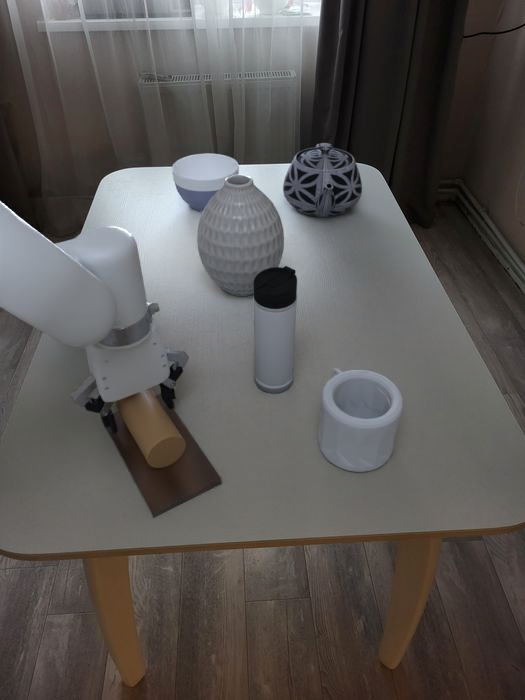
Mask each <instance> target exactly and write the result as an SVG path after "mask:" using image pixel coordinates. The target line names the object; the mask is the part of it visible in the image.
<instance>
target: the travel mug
mask: <svg viewBox="0 0 525 700" xmlns="http://www.w3.org/2000/svg"><path fill="white" fill-rule="evenodd" d="M253 286H254V294H252V296H253V297H252V300H253V303H252V305H253V306H252V308H253V311H252V312H253V352H254V353H253V360H254V361H253V363H254V364H253V367H254V383H255V385H256V386H257V388H258V389H260V391H263V392H265V393H268V394H269V393H270V394H280V393H283V392H285V391H287V390H288V389H290V388H291V387H292V385H293V382H294V370H295V369H294V367H295V364H294V363H295V349H296V348H295V345H296V326H297V325H296V324H297V323H296V322H297V306H298V305H297V301H298V295H297V294H298V293H297V292H298V277H297V275H296V269H294V268H292V267H290V266H288V265H284V266H283V267H280V266H278V267H273V268H268V269H265V270H263V271H261V272H260V273H259V274H257V275H256V277H255V279H254V282H253Z"/></svg>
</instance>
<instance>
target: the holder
mask: <svg viewBox="0 0 525 700" xmlns="http://www.w3.org/2000/svg"><path fill="white" fill-rule="evenodd" d="M155 396H156V398H157V399H158V401H159V403H160V404H161V406H162V407H163V409H164V410H165V412H166V413H167V415H168V416H169V418H170V419H171V421H172V422H173V424H174V425H175V427H176V428H177V430H178V431H179V433H180V434H181V436H182V437H183V439H184V441H185V443H186V448H185V451H184V453H183V454H182V456H181V457H180V458H179V459H178V460H177V461H176V462H174V463H173V464H171V465H169V466H166V467H163V468H154V467H151V466H150V465H149V464H148V462H147V460H146V459H145V457H144V455H143V453H142V452H141V450H140V448H139V446H138V445H137V443H136V441H135V439H134V438H133V436H132V434H131V432H130V431H129V429H128V427H127V425H126V424H125V422H124V420H123V418H122V417H121V415H120V413H119V411H118V410H117V411H115V412H114V411H113V415H114V418H115V422H116V426H117V429H118V431H117V433H115V434H113V432H112V430H111V429H110V427H107V428H105V430H106V432H107V433H108V435H109V438H110V439H111V442H112V443H113V445H114V447H115V449H116V451H117V453H118V454H119V457H120V458H121V460H122V462H123V464H124V465H125V467H126V469H127V471H128V473H129V475H130V477H131V479H132V481H133V482H134V484H135V486H136V489H137V490H138V492H139V494H140V495H141V498H142V499H143V502H144V503H145V505H146V507H147V509H148V511H149V513H150V514H151V516H152V518H153V519H155V518H156V517H158V516H160V515H162V514H164V513H166V512H168V511H170V510H173V509H174V508H176V507H178V506H180V505H182V504H184V503H186V502H188V501H190V500H193V499H194V498H197V497H198V496H200V495H202V494H204V493H206V492H208V491H211V490H212V489H214V488H216V487H218V486H221V485H222V478H221V477H220V475H219V474H218V472H217V471H216V469H215V468H214V466H213V464H212V463H211V462H210V460H209V459H208V458H207V456H206V454H205V453H204V452H203V450H202V449H201V447H200V445H199V444H198V443H197V441H196V440H195V438H194V437H193V435H192V434H191V432H190V431H189V430H188V428H187V427H186V425H185V423H184V422H183V421H182V419H181V418H180V416H179V415H178V413H177V412H176V410H175V408H173V409H169V408H168V406H167V405H166V403H165V402H164V400H163V399H162V396H161V393H159V394H156V395H155Z"/></svg>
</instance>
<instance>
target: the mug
mask: <svg viewBox="0 0 525 700" xmlns="http://www.w3.org/2000/svg"><path fill="white" fill-rule="evenodd" d="M403 408H404V399H403V395H402V393H401V391H400V389H399V388H398V387H397V385H396V384H395V382H393V381H392V380H390V379H389V378H388V377H386V376H384V375H382V374H380V373H378V372H375V371H371V370H366V369H350V370H347V371H346V370H345V371H342V370H341V369H340V368H338V367H334V368H333V370H332V377H331V378H330V379H329V380H328V381H327V382H326V383H325V385H324V387H323V389H322V392H321V402H320V411H319V412H320V413H319V422H318V437H317V441H318V446H319V450H320V451H321V453H322V455H323V456H324V457H325V459H326V460H328V461H329V462H330V463H332V464H333V466H336V467H338V468H340V469H342V470H346V471H349V472H357V473H363V472H365V473H366V472H371V471H374V470H377V469H379V468H380V467H382V466H383V465H385V464H386V463H387V462H388V461H389V460H390V458H391V455H392V453H393V450H394V447H395V441H396V436H397V432H398V428H399V423H400V419H401V417H402V412H403Z"/></svg>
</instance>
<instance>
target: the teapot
mask: <svg viewBox="0 0 525 700" xmlns="http://www.w3.org/2000/svg"><path fill="white" fill-rule="evenodd" d="M362 183H363V182H362V178H361V174H360V170H359V168H358V165H357V161H356V159H355V157H354V156H353V154H351V153H350V152H348V151H346V150H343V149H340V148H336V147H334V146H333V145H332V144H331V143H327V142H321V143H317V144H316V145H315V147H309V148H305V149H303V150H300V151H299V152H297V153H296V154H295V155H294V157H293V159H292V161H291V162H290V165H289V167H288V168H287V171H286V174H285V176H284V180H283V185H282V192H283V196H284V198H285V200H286V201H287V202H288V203H289V205H291V206H292V207H293V208H294V209H295V210H296V211H297V212H299V213H301V214H303V215H307V216H311V217H318V218H329V217H335V216H339V215H343V214H344V213H346V212H347V211H348V210H350V209H351V208H353V207H354V206H355V205H356V204H357V203H358V202H359V201H360V199H361V196H362V194H363V184H362Z"/></svg>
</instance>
